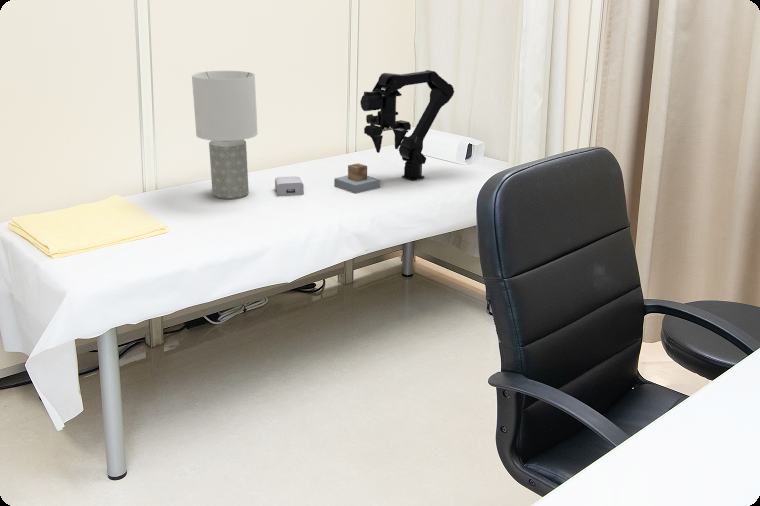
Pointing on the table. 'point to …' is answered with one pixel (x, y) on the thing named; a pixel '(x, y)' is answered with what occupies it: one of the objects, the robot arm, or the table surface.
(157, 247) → the table surface
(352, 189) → the grey base
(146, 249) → the table surface
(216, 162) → the lamp
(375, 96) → the robot arm
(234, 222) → the table surface
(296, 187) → the charger
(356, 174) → the walnut cube
